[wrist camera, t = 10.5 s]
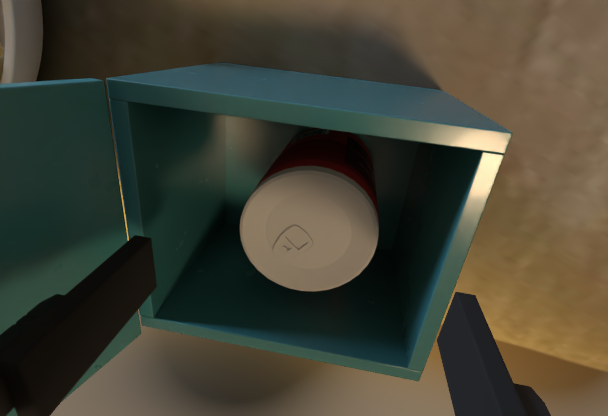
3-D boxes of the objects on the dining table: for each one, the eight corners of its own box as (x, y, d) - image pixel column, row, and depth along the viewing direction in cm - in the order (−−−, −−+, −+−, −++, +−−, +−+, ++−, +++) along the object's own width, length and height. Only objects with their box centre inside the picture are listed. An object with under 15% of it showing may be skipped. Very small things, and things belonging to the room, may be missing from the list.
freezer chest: (442, 90, 26) (513, 132, 14) (398, 255, 32) (419, 382, 20) (218, 62, 27) (105, 77, 15) (220, 225, 34) (141, 326, 22)
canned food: (263, 181, 30) (215, 249, 20) (313, 102, 27) (284, 138, 17) (336, 228, 31) (324, 314, 21) (393, 158, 27) (410, 222, 18)
